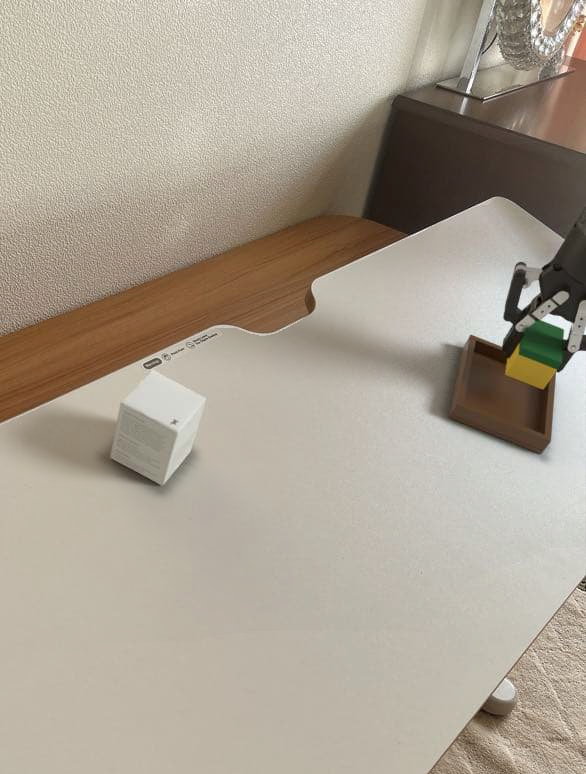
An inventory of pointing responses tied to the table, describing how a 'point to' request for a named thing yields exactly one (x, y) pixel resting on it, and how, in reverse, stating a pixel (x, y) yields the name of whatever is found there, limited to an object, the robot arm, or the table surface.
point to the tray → (501, 398)
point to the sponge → (537, 355)
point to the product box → (156, 427)
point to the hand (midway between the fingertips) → (527, 361)
